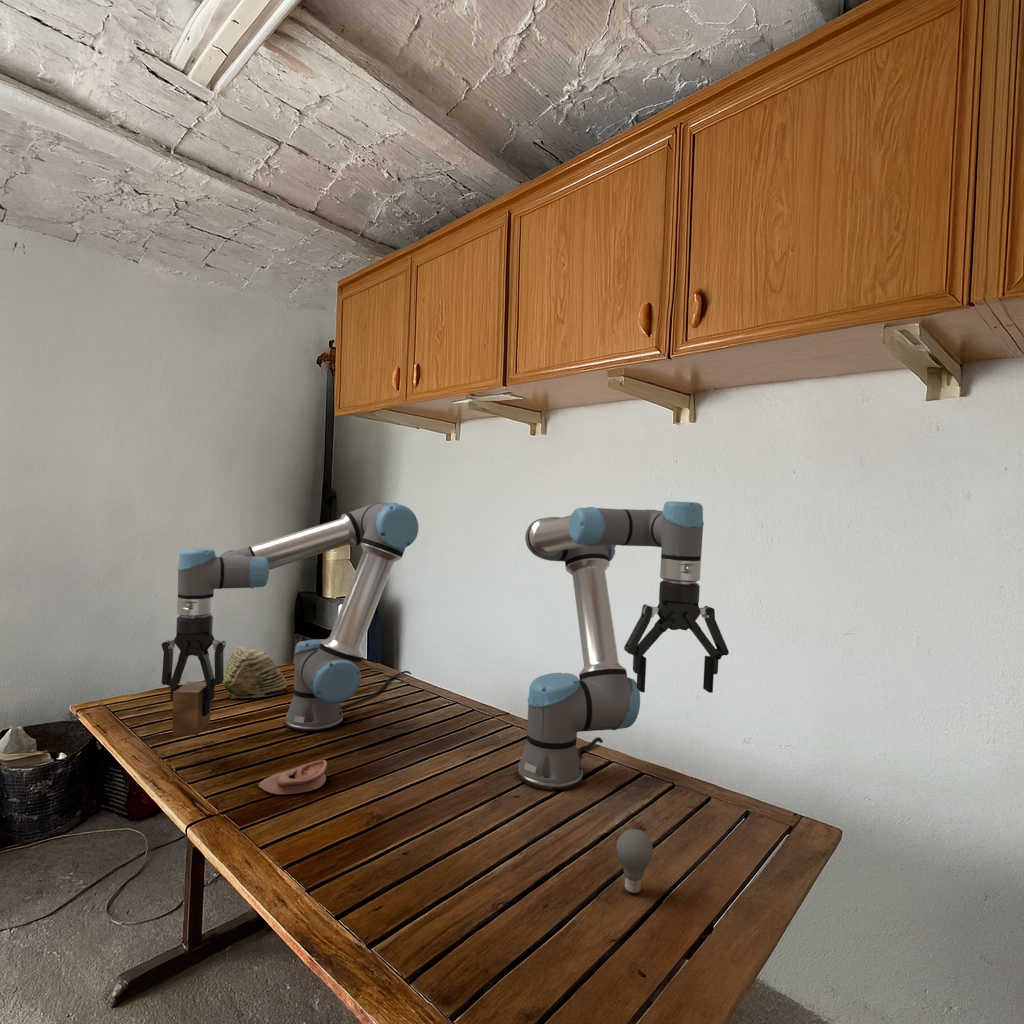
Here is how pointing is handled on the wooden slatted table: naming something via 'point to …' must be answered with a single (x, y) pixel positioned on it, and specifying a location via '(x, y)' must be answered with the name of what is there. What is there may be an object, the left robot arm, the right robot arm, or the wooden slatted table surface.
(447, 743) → the wooden slatted table surface
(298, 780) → the anatomical model
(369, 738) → the wooden slatted table surface
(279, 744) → the wooden slatted table surface
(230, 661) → the fossil
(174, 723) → the brick
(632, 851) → the light bulb
